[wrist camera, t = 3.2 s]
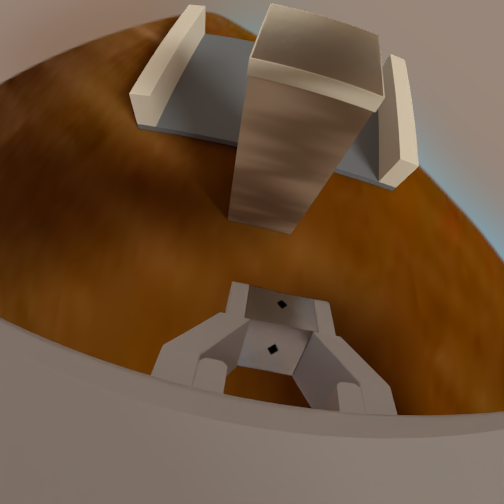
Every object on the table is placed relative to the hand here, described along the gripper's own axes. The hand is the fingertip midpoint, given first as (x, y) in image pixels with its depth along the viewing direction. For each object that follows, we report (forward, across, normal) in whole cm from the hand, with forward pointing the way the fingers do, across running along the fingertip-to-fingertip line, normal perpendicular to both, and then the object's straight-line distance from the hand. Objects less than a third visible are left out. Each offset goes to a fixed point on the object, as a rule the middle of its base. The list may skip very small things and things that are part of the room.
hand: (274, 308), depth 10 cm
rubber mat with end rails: (+21, +1, -6) cm, 22 cm away
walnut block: (+14, 0, +2) cm, 14 cm away
